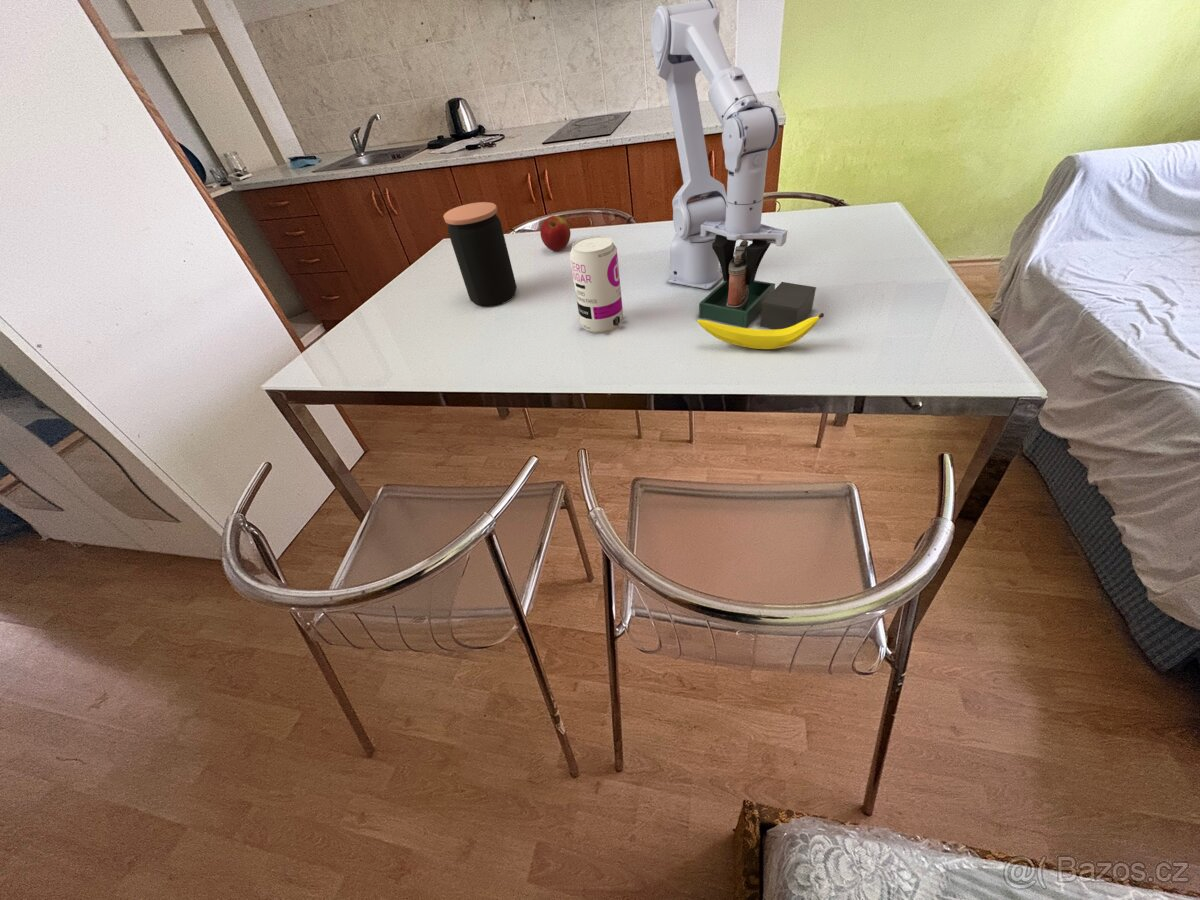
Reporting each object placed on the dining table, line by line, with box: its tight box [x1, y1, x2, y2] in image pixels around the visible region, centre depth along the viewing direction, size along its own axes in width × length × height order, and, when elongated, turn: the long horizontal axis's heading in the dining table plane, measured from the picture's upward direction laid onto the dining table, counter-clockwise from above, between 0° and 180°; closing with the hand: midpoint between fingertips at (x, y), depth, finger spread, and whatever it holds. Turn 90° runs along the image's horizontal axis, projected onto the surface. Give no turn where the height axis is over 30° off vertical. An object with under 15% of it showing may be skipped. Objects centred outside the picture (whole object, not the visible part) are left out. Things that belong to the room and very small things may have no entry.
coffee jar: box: [442, 201, 518, 308], centre depth 101 cm, size 11×11×18 cm
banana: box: [696, 312, 825, 350], centre depth 77 cm, size 3×19×6 cm, turn 75°
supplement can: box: [569, 235, 624, 334], centre depth 87 cm, size 8×8×15 cm
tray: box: [698, 279, 776, 328], centre depth 89 cm, size 9×12×3 cm
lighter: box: [727, 240, 749, 309], centre depth 86 cm, size 8×3×10 cm, turn 156°
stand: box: [759, 281, 817, 330], centre depth 84 cm, size 6×8×4 cm
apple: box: [539, 215, 571, 252], centre depth 121 cm, size 8×8×8 cm
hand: (738, 280), depth 87 cm, fingers closed on lighter, 4 cm apart
